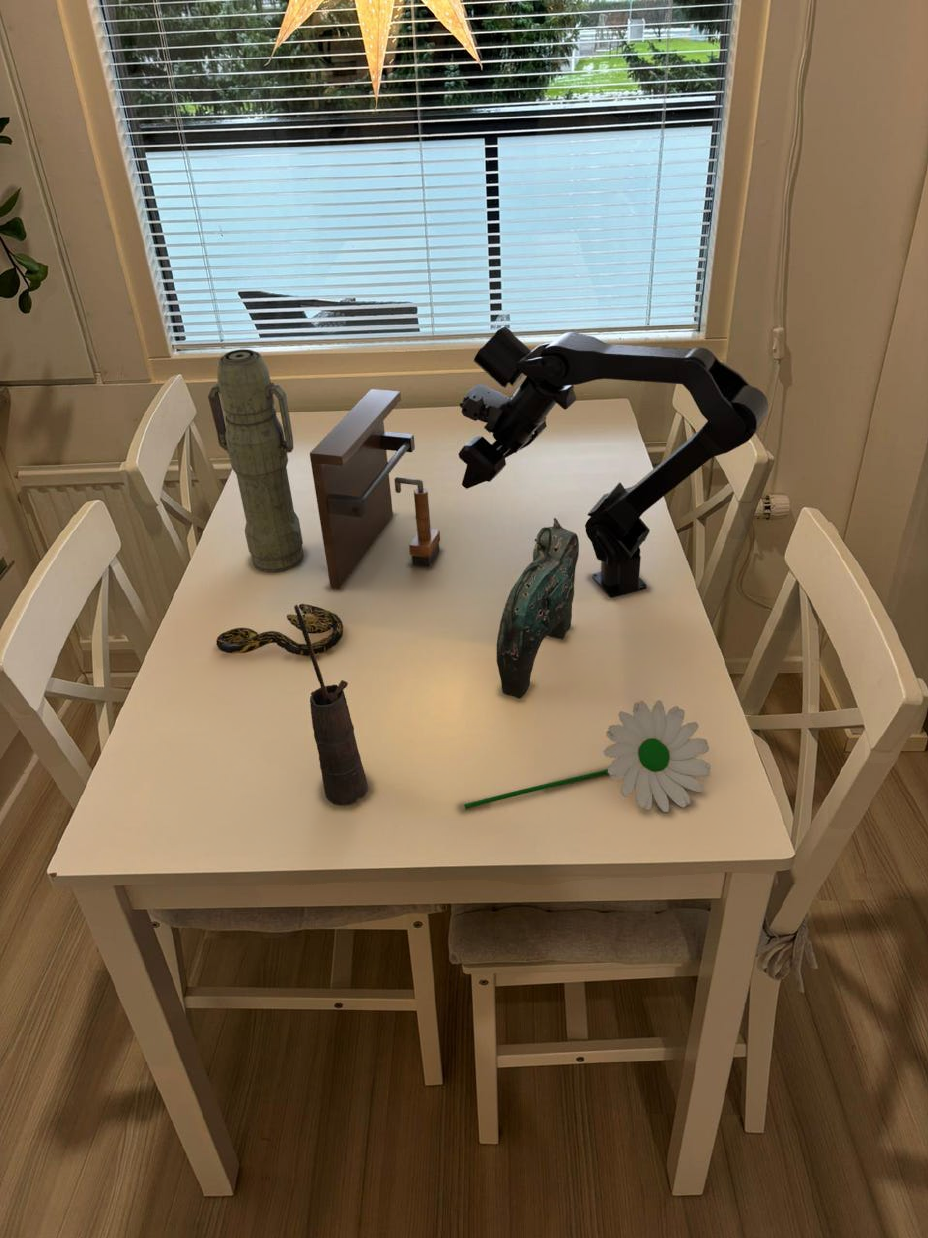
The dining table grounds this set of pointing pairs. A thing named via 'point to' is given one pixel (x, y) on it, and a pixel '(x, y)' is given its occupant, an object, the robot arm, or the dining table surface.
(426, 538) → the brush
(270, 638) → the toy snake
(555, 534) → the dark green arched piece
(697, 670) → the dining table surface
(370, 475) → the wall shelf
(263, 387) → the thermos
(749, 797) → the dining table surface
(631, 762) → the flower
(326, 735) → the butter churn
